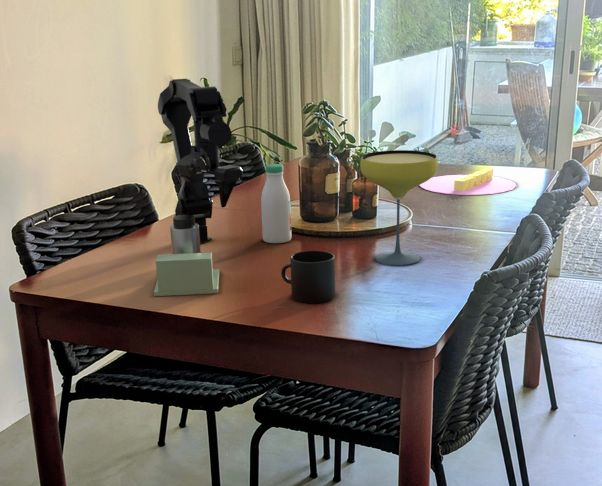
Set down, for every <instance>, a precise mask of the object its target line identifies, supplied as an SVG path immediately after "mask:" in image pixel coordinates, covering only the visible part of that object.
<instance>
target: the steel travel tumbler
mask: <svg viewBox="0 0 602 486" xmlns="http://www.w3.org/2000/svg"><path fill="white" fill-rule="evenodd" d="M172 223H173V224H171V225H170V226H169V229H170V241H171V243H170V244H171V254H189V253H202V252H201V243H200V237H199V225H198V224H196V223H195V218H194V216H193V215H184V214H183V215H178V216H176V215H175V216H173V217H172Z"/></svg>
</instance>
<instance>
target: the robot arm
mask: <svg viewBox="0 0 602 486" xmlns="http://www.w3.org/2000/svg"><path fill="white" fill-rule="evenodd" d="M227 109H228V108H227V107H226V104H225V102H224V99H223V96H222V93H221V92H220V91H219V89H218V88H217V87H216V86H200V85H198V84H196V83H194V82H192V81H191V80H190V79H189V78H176V79H175V78H174V79H172V80H169V81H168V86H166V88H164V89H163V90H162V91H161V92H160V93H159V96H158V99H157V111H158V114H159V115H160V117H161V121H162V123H163V124H164V126H165V127H166V128H167V129H168V130H169V131H170V134H171V138H172V143H173V147H174V153H175V157H176V162H175V168H174V169H175V174H177V175H178V174H179V178H180V182H181V186H180V189H179V191H178V194H177V197H178V199H177V202H176V206H175V210H174V213H175V216H178V215H193V216H194V218H195V223H196V224H198V225H199V237H200V244H203V243H208V242H210V241H212V240H213V239H212V237H209V234H208V233H209V232H208V224H207V219H212V216H213V203H214V201H213V200H212V196H211V195H210V194H209V189H208V185H207V184H206V183H205V182H204V178H205V174H208V175H213V176H214V178H215V180H214V183H215V185H216V186H217V187H218V194H219V203H220V207H221V208H227V207H226V206H227V204H228V202H229V199H230V197H231V194H232V192H233V190H234V188H235V186H236V184H237V182H239V181H240V179H243V178H244V173H243V172H244V171H243V169H242V167H241V166H240V165H234V164H228V165H224V161H223V160H221V159H220V158H221V157H220V150H222V149H224V148H223V147H224V146H226V145H227V144H229V143H230V141H231V139H232V130H231V127H230V126H229V125H228V123H226V122H224V119H223V118H226V117H227ZM191 119H192V122H193V135H194V137H193V138H194V145H193V144H192V140H191V134H190V130H189V123H190V121H191Z"/></svg>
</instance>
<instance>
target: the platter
mask: <svg viewBox="0 0 602 486" xmlns="http://www.w3.org/2000/svg"><path fill="white" fill-rule="evenodd" d="M419 187H420V188H422V189H423V190H426V191H429V192H432V193H437V194H445V195H456V196H485V195H486V196H487V195H495V194H496V195H497V194H501V193H506V192H509V191H512V190H514V189H515V188H517V184H516V182H515V181H512V180H510V179H507V178H503V177H499V176H494V169H492V168H481V169H480V170H477V171H475V172H473V173H469V174H451V175H449V174H448V175H440V176H433V177H432V178H431V179H429V180H428V181H426V182H424V183H422V184H420V185H419Z"/></svg>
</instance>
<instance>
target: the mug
mask: <svg viewBox="0 0 602 486" xmlns="http://www.w3.org/2000/svg"><path fill="white" fill-rule="evenodd" d="M335 257H336V256H335V254H333V253H332V252H330V251H326V250H325V251H324V250H315V249H313V250H302V251H298V252H295V253H292V254H291V256H290V260H289V261H290V263H287V264H284V265H283V266H282V268H281V272H280V274H281V277H282V280H283V281H284V282H285V283H287V284H289V285H290V286H291V297H292V299H293V300H294V301H297V302H299V303H303V304H305V303H306V304H321V303H326V302H329V301H331V300H333V299H334V298H335V296H336V258H335ZM289 268H290V279H289V277H287V274H286V271H287V269H289Z"/></svg>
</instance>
